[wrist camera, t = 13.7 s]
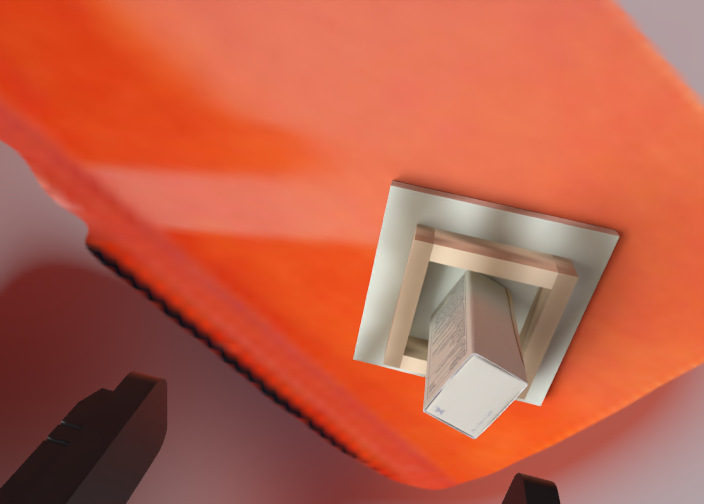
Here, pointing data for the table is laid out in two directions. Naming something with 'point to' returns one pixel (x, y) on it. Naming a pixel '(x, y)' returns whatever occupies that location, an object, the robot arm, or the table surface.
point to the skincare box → (473, 356)
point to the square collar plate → (488, 259)
